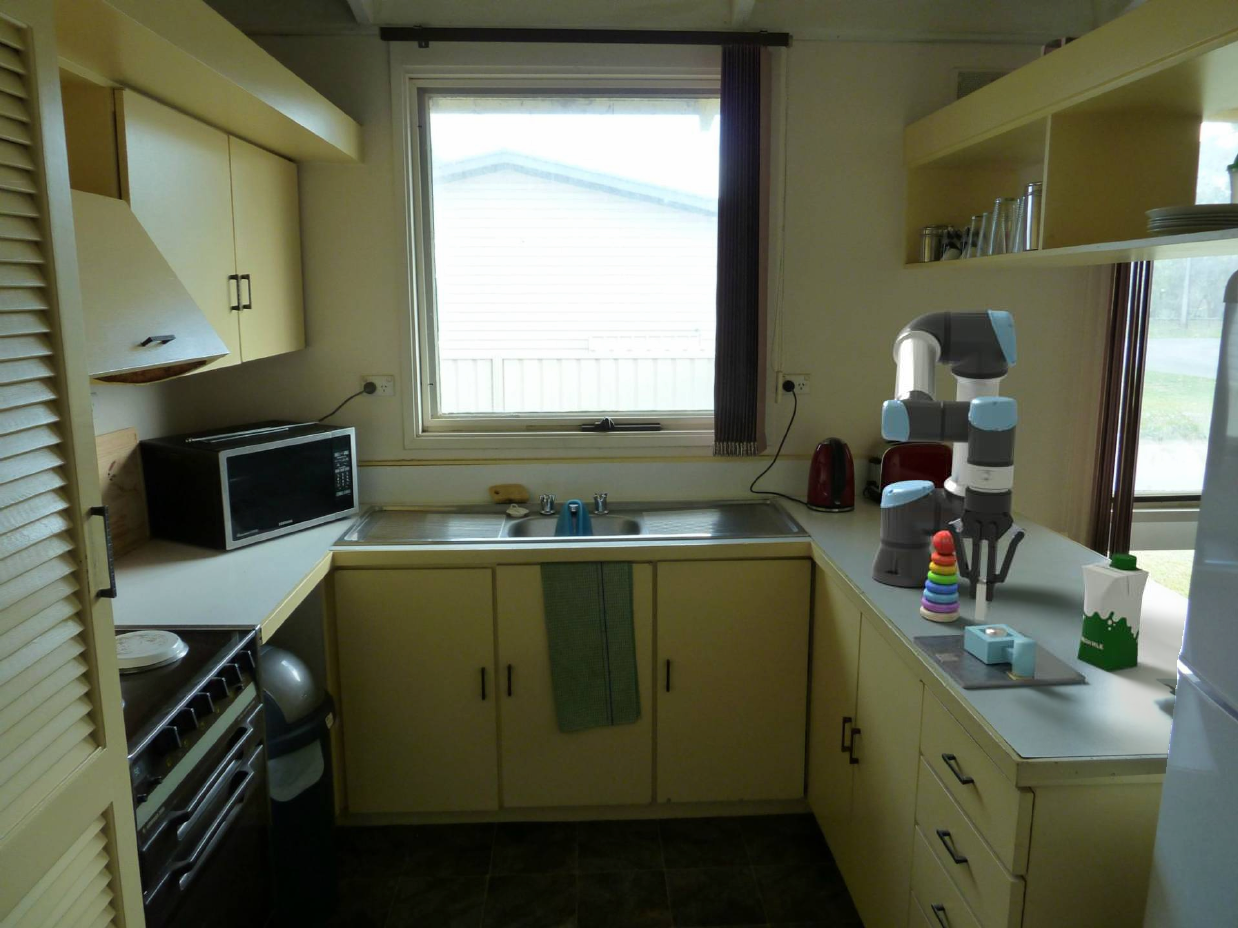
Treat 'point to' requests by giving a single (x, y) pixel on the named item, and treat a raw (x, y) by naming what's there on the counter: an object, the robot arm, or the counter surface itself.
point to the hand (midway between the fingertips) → (980, 617)
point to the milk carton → (1112, 613)
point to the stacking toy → (941, 582)
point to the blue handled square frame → (1002, 648)
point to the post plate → (980, 674)
